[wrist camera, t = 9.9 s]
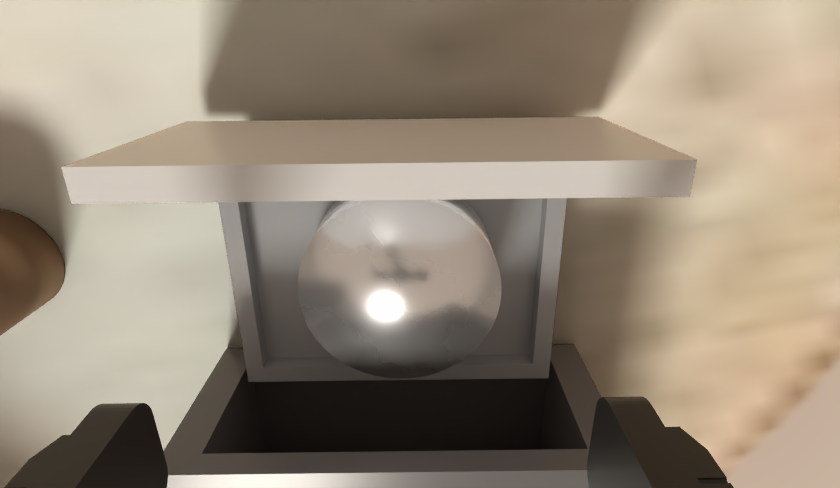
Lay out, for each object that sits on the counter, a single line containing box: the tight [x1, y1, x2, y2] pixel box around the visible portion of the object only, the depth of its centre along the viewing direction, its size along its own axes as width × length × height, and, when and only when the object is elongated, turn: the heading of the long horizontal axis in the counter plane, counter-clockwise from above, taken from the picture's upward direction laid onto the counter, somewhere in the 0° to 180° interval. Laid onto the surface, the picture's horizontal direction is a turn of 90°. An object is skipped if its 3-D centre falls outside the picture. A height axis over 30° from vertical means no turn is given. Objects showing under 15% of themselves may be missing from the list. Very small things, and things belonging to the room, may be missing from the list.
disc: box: [297, 199, 502, 379], centre depth 16 cm, size 6×6×2 cm
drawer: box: [61, 117, 697, 382], centre depth 15 cm, size 9×13×6 cm
